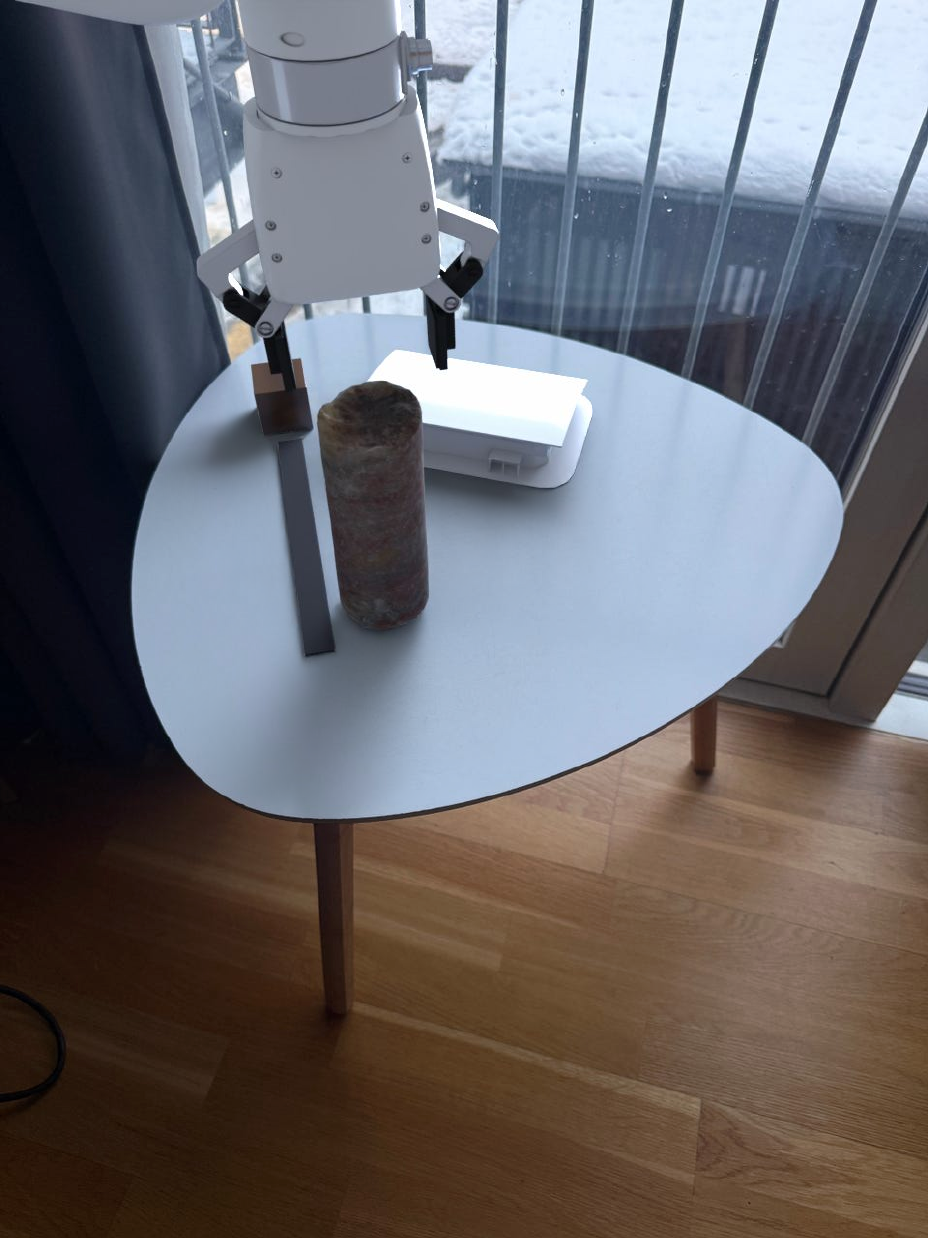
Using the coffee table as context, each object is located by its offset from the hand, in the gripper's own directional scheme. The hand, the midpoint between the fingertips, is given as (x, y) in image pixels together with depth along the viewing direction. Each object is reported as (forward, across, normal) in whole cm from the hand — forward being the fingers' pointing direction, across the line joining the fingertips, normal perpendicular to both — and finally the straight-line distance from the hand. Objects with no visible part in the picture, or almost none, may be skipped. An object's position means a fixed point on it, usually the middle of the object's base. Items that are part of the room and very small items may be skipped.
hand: (364, 368), depth 58 cm
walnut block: (+23, +6, -27) cm, 36 cm away
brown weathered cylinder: (+23, 0, 0) cm, 23 cm away
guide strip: (+23, +6, -9) cm, 26 cm away
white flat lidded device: (+23, -12, -22) cm, 34 cm away
